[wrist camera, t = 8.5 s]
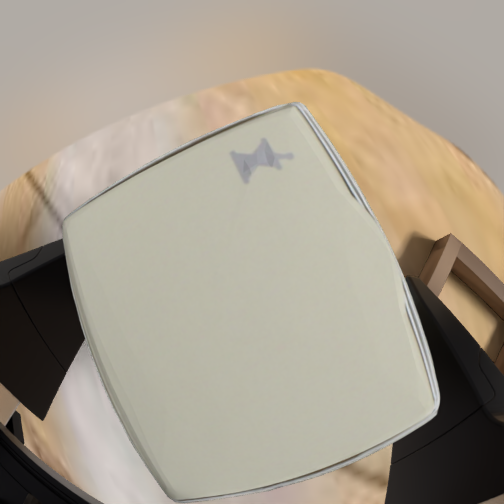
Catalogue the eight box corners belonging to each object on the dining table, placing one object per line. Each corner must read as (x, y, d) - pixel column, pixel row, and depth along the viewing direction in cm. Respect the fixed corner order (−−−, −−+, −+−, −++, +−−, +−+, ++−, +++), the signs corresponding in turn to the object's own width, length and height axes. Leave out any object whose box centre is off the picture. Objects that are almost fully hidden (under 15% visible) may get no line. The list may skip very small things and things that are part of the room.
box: (218, 280, 16) (48, 202, 4) (288, 249, 16) (294, 78, 4) (254, 364, 15) (162, 514, 3) (326, 334, 15) (457, 414, 2)
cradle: (449, 448, 12) (462, 458, 10) (346, 389, 15) (353, 399, 13) (520, 322, 13) (535, 322, 11) (436, 240, 16) (450, 233, 14)
